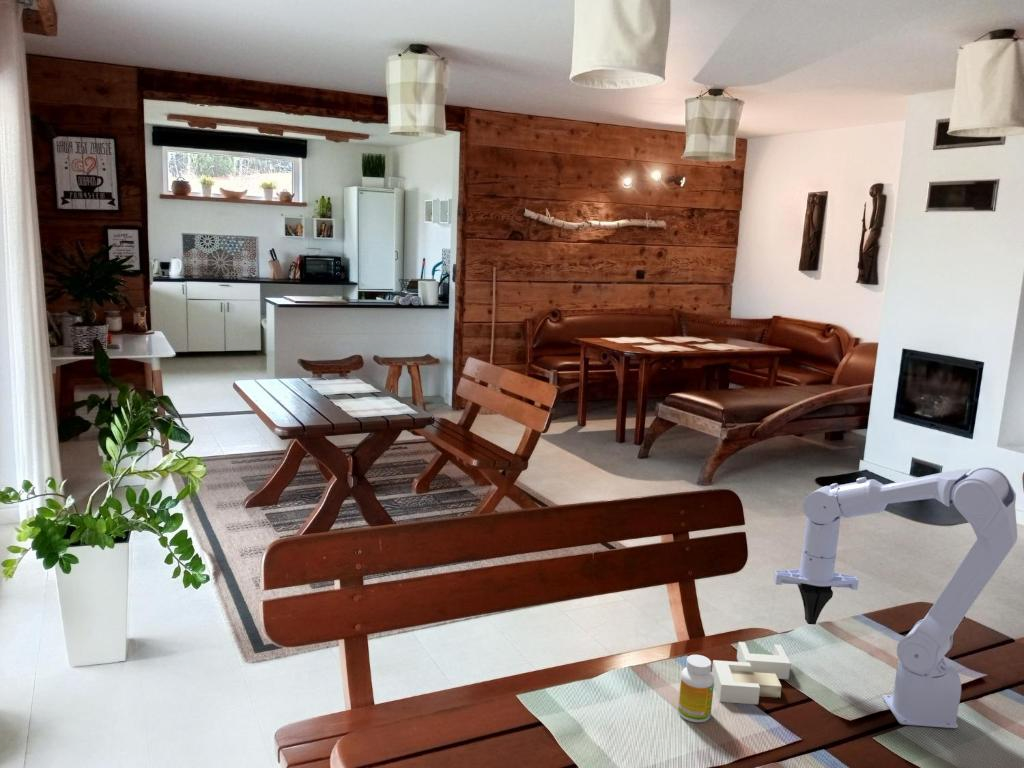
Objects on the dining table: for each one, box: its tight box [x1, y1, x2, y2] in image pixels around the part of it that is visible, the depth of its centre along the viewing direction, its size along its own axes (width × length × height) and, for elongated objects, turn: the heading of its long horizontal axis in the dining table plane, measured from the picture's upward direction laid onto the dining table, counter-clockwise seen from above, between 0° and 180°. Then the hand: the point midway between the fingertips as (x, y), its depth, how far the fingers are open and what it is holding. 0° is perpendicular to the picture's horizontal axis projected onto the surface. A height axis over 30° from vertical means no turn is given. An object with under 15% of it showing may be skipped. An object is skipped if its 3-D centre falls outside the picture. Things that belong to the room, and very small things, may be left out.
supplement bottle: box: [677, 654, 715, 723], centre depth 134 cm, size 5×5×10 cm
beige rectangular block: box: [731, 671, 782, 699], centre depth 143 cm, size 8×4×2 cm, turn 86°
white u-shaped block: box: [736, 641, 791, 680], centre depth 149 cm, size 6×8×3 cm
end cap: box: [711, 659, 760, 705], centre depth 142 cm, size 6×8×3 cm
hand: (810, 621), depth 148 cm, fingers closed
